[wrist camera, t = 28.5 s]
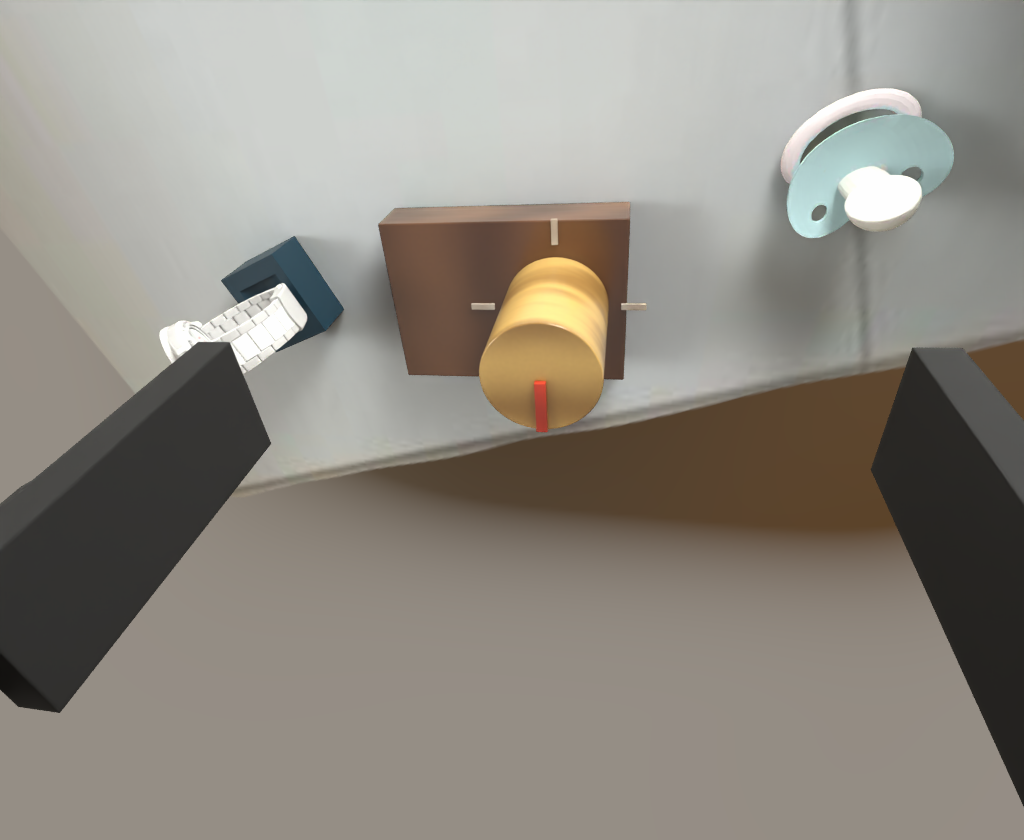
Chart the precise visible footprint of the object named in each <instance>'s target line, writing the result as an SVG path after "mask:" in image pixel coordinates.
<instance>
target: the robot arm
mask: <svg viewBox="0 0 1024 840" xmlns="http://www.w3.org/2000/svg"><path fill="white" fill-rule="evenodd" d="M270 445H271V442H270V440H269V437H268V435H267V432H266V430H265V427H264V425H263V422H262V420H261V417H260V415H259V413H258V410H257V408H256V405H255V403H254V400H253V398H252V395H251V393H250V390H249V388H248V385H247V383H246V380H245V378H244V376H243V373H242V371H241V368H240V366H239V363H238V361H237V358H236V356H235V353H234V351H233V348H232V346H231V344H230V342H197V343H196V344H195V345H194V346H192V347H191V348H190V349H189V350H188V351H186V352H185V353H184V354H183V355H182V356H180V357H179V358H178V359H177V360H176V361H174V362H173V363H172V364H171V365H170V366H169V367H167V368H166V369H165V370H164V371H163V372H161V373H160V374H159V375H158V376H157V377H155V378H154V379H153V380H152V381H151V382H149V383H148V384H147V385H146V386H145V387H143V388H142V389H141V390H140V391H139V392H137V393H136V394H135V395H134V396H133V397H131V398H130V399H129V400H128V401H127V402H125V403H124V404H123V405H122V406H121V407H120V408H118V409H117V410H116V411H115V412H114V413H112V414H111V415H110V416H109V417H108V418H107V419H105V420H104V421H103V422H102V423H100V424H99V425H98V426H97V427H96V428H94V429H93V430H92V431H91V432H90V433H89V434H87V435H86V436H85V437H84V438H82V439H81V440H80V441H79V442H78V443H76V444H75V445H74V446H73V447H72V448H70V449H69V450H68V451H67V452H66V453H65V454H63V455H62V456H61V457H60V458H59V459H57V460H56V461H55V462H54V463H53V464H51V465H50V466H49V467H48V468H47V469H45V470H44V471H43V472H42V473H41V474H39V475H38V476H37V477H36V478H35V479H33V480H32V481H30V482H28V483H27V484H25V485H23V486H21V487H20V488H19V489H18V490H17V491H16V492H14V493H13V494H12V495H10V496H9V497H8V498H7V499H6V500H4V501H3V502H2V503H1V504H0V690H1V691H2V692H3V693H4V694H6V695H7V696H8V697H9V698H10V699H11V700H12V701H13V702H14V703H15V704H16V705H17V706H18V707H24V708H30V709H37V710H44V711H51V712H58V713H60V712H61V711H62V709H63V708H64V707H65V706H66V704H67V703H68V702H69V701H70V699H71V698H72V697H73V695H74V694H75V693H76V691H77V690H78V689H79V687H80V686H81V685H82V684H83V683H84V681H85V680H86V679H87V678H88V676H89V675H90V674H91V672H92V671H93V670H94V669H95V667H96V666H97V665H98V664H99V662H100V661H101V660H102V659H103V657H104V656H105V655H106V653H107V652H108V651H109V649H110V648H111V647H112V646H113V644H114V643H115V642H116V641H117V639H118V638H119V637H120V636H121V634H122V633H123V632H124V630H125V629H126V628H127V627H128V625H129V624H130V623H131V621H132V620H133V619H134V618H135V616H136V615H137V614H138V613H139V611H140V610H141V609H142V608H143V606H144V605H145V604H146V602H147V601H148V600H149V599H150V597H151V596H152V595H153V594H154V592H155V591H156V589H157V588H158V587H159V586H160V584H161V583H162V582H163V581H164V579H165V578H166V577H167V576H168V574H169V573H170V572H171V571H172V569H173V568H174V567H175V565H176V564H177V563H178V562H179V560H180V559H181V558H182V557H183V555H184V554H185V553H186V551H187V550H188V549H189V548H190V546H191V545H192V544H193V543H194V541H195V540H196V539H197V537H198V536H199V535H200V534H201V532H202V531H203V530H204V529H205V527H206V526H207V525H208V523H209V522H210V521H211V519H212V518H213V517H214V516H215V514H216V513H217V512H218V511H219V509H220V508H221V507H222V506H223V504H224V503H225V502H226V501H227V499H228V498H229V497H230V495H231V494H232V493H233V492H234V490H235V489H236V488H237V487H238V485H239V484H240V483H241V481H242V480H243V479H244V478H245V476H246V475H247V474H248V473H249V471H250V470H251V469H252V467H253V466H254V465H255V464H256V462H257V461H258V460H259V459H260V457H261V456H262V455H263V453H264V452H265V451H266V450H267V448H268V447H269V446H270ZM871 471H872V473H873V476H874V478H875V480H876V482H877V484H878V486H879V489H880V491H881V493H882V495H883V498H884V500H885V502H886V504H887V506H888V509H889V511H890V513H891V515H892V517H893V520H894V522H895V524H896V526H897V528H898V531H899V533H900V535H901V537H902V539H903V542H904V544H905V546H906V548H907V550H908V553H909V555H910V557H911V559H912V561H913V564H914V566H915V568H916V570H917V573H918V575H919V577H920V579H921V581H922V583H923V586H924V588H925V590H926V592H927V594H928V597H929V599H930V601H931V603H932V606H933V608H934V610H935V612H936V614H937V616H938V619H939V621H940V623H941V625H942V628H943V630H944V632H945V634H946V636H947V639H948V641H949V643H950V645H951V647H952V649H953V652H954V654H955V656H956V658H957V661H958V663H959V665H960V667H961V669H962V672H963V674H964V676H965V678H966V680H967V683H968V685H969V687H970V689H971V691H972V694H973V696H974V698H975V700H976V703H977V705H978V707H979V709H980V711H981V713H982V716H983V718H984V720H985V722H986V725H987V727H988V729H989V731H990V733H991V736H992V738H993V740H994V742H995V744H996V746H997V749H998V751H999V753H1000V755H1001V758H1002V760H1003V762H1004V764H1005V766H1006V768H1007V771H1008V773H1009V775H1010V777H1011V780H1012V782H1013V784H1014V786H1015V788H1016V791H1017V793H1018V795H1019V797H1020V799H1021V802H1022V804H1023V806H1024V420H1023V419H1022V418H1021V417H1020V416H1019V415H1018V413H1017V412H1016V411H1015V410H1014V409H1013V407H1012V406H1011V405H1010V404H1009V403H1008V402H1007V400H1006V399H1005V398H1004V397H1003V396H1002V394H1001V393H1000V392H999V391H998V390H997V389H996V387H995V386H994V385H993V384H992V382H991V381H990V380H989V379H988V378H987V377H986V376H985V374H984V373H983V372H982V371H981V370H980V368H979V367H978V366H977V365H976V363H975V362H974V361H973V360H972V359H971V358H970V356H969V355H968V354H967V353H966V352H965V350H964V349H963V348H912V350H911V353H910V356H909V359H908V362H907V365H906V368H905V371H904V374H903V377H902V380H901V383H900V386H899V389H898V391H897V394H896V397H895V400H894V403H893V406H892V409H891V413H890V415H889V418H888V421H887V424H886V427H885V430H884V432H883V435H882V438H881V441H880V444H879V447H878V450H877V453H876V456H875V459H874V462H873V465H872V468H871Z"/></svg>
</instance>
